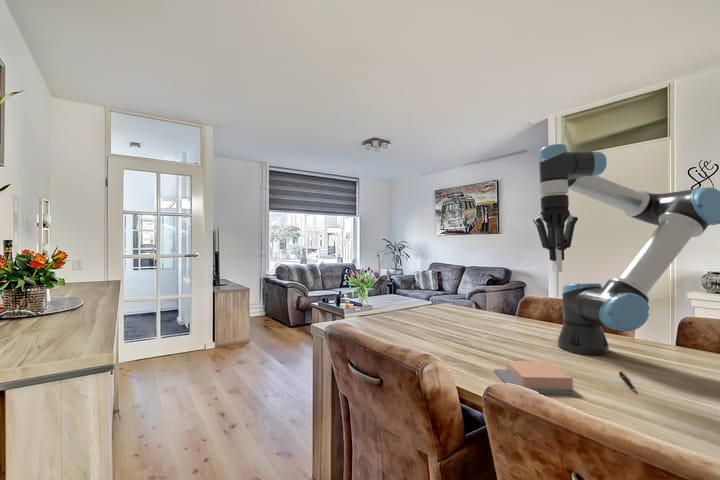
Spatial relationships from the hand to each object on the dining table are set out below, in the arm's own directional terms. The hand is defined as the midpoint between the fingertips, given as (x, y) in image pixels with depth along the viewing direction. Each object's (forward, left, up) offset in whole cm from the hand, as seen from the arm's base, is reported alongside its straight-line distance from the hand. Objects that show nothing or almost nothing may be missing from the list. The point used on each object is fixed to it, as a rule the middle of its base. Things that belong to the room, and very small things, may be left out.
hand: (557, 271), depth 107 cm
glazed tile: (+7, +15, -27) cm, 31 cm away
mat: (+15, +15, -29) cm, 36 cm away
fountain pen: (-11, +14, -29) cm, 34 cm away
